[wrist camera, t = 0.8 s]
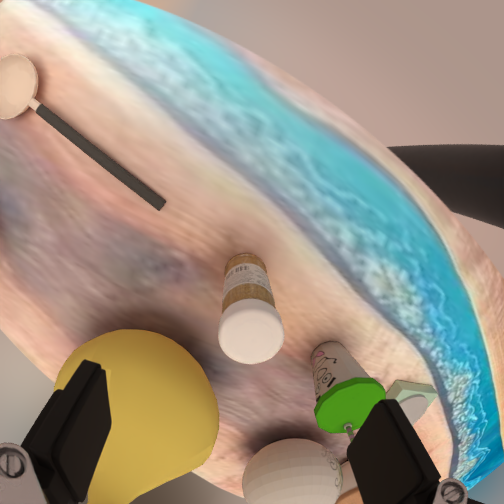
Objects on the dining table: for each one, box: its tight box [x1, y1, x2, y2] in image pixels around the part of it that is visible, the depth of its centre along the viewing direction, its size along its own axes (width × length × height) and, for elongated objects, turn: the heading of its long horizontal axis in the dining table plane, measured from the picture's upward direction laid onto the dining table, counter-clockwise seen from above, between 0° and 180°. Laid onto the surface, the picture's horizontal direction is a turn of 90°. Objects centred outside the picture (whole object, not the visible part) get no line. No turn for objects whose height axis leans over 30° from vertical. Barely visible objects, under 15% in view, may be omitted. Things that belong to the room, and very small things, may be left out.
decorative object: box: [242, 438, 343, 504], centre depth 35 cm, size 15×15×15 cm
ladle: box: [0, 54, 166, 211], centre depth 26 cm, size 8×31×4 cm, turn 50°
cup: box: [311, 341, 386, 442], centre depth 29 cm, size 8×8×15 cm
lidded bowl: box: [335, 461, 363, 504], centre depth 40 cm, size 13×13×11 cm
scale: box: [386, 380, 438, 426], centre depth 39 cm, size 9×9×3 cm
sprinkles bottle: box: [218, 253, 284, 364], centre depth 26 cm, size 5×5×13 cm
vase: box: [54, 329, 219, 504], centre depth 22 cm, size 18×18×30 cm
